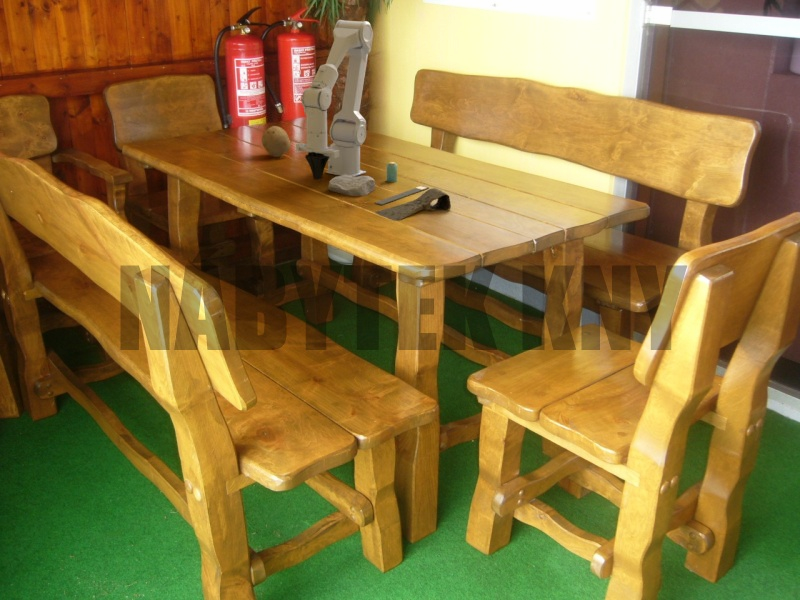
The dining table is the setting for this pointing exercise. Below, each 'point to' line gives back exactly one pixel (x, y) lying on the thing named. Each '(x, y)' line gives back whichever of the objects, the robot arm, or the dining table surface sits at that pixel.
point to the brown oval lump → (276, 141)
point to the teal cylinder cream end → (391, 172)
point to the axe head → (418, 205)
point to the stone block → (352, 185)
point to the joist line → (401, 195)
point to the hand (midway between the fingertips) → (317, 179)
